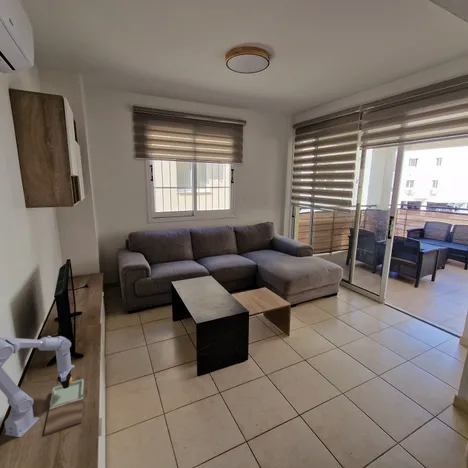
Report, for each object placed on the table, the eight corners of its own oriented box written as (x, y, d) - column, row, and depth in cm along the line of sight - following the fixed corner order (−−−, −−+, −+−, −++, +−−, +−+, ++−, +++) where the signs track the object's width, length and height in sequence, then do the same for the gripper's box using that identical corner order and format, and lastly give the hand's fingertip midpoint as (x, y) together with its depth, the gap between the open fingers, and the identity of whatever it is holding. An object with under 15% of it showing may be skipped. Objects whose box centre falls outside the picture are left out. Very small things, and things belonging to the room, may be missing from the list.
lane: (81, 423, 119) (81, 421, 119) (44, 435, 113) (44, 433, 112) (84, 383, 143) (84, 381, 142) (53, 391, 136) (53, 390, 136)
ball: (67, 389, 130) (66, 381, 129) (58, 388, 131) (57, 379, 130) (75, 382, 135) (74, 374, 134) (66, 381, 136) (65, 372, 135)
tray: (82, 397, 132) (82, 394, 132) (50, 407, 126) (49, 404, 125) (84, 381, 142) (83, 378, 142) (53, 390, 136) (53, 387, 136)
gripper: (71, 366, 125) (74, 391, 128) (74, 349, 138) (76, 372, 141) (54, 371, 122) (57, 396, 125) (58, 353, 135) (61, 376, 137)
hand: (66, 384), depth 132 cm, fingers closed on ball, 5 cm apart
